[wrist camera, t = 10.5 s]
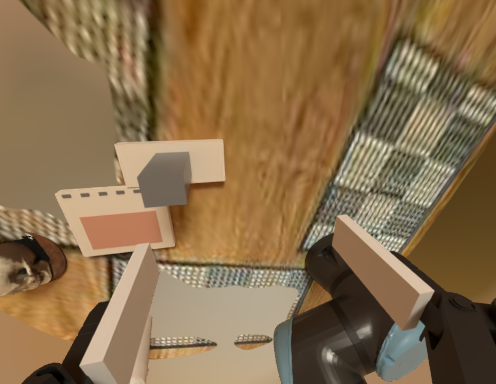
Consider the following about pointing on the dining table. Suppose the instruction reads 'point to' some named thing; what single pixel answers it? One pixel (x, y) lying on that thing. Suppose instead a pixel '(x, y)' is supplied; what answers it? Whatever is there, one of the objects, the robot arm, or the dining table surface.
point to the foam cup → (142, 356)
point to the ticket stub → (170, 168)
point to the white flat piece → (114, 220)
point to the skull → (29, 264)
